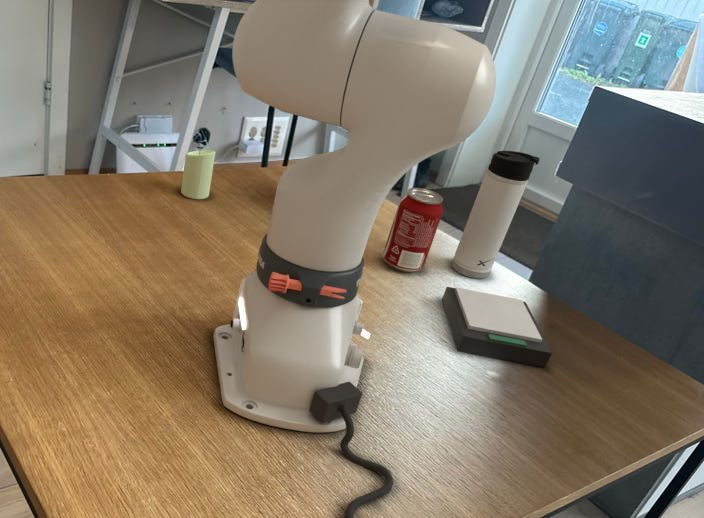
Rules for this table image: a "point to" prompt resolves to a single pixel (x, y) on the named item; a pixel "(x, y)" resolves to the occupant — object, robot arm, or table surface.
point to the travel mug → (493, 212)
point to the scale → (494, 327)
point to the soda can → (413, 230)
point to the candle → (197, 174)
